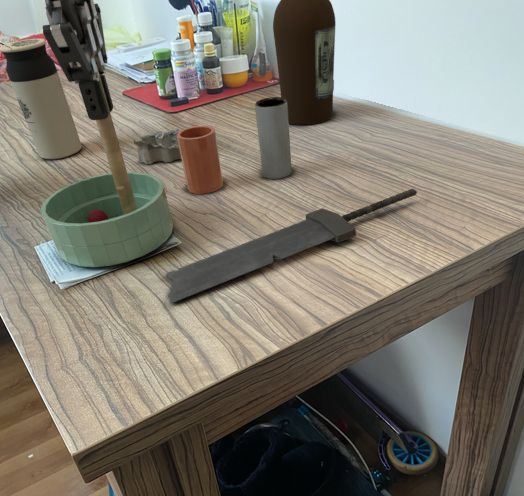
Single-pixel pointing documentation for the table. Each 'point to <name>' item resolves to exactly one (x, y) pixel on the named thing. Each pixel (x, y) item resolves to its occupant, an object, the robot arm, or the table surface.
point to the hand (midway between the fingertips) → (101, 114)
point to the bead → (97, 216)
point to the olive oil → (305, 58)
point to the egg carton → (158, 146)
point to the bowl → (108, 231)
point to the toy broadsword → (269, 249)
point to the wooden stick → (116, 161)
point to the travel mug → (41, 98)
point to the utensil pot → (200, 159)
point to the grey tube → (274, 137)
